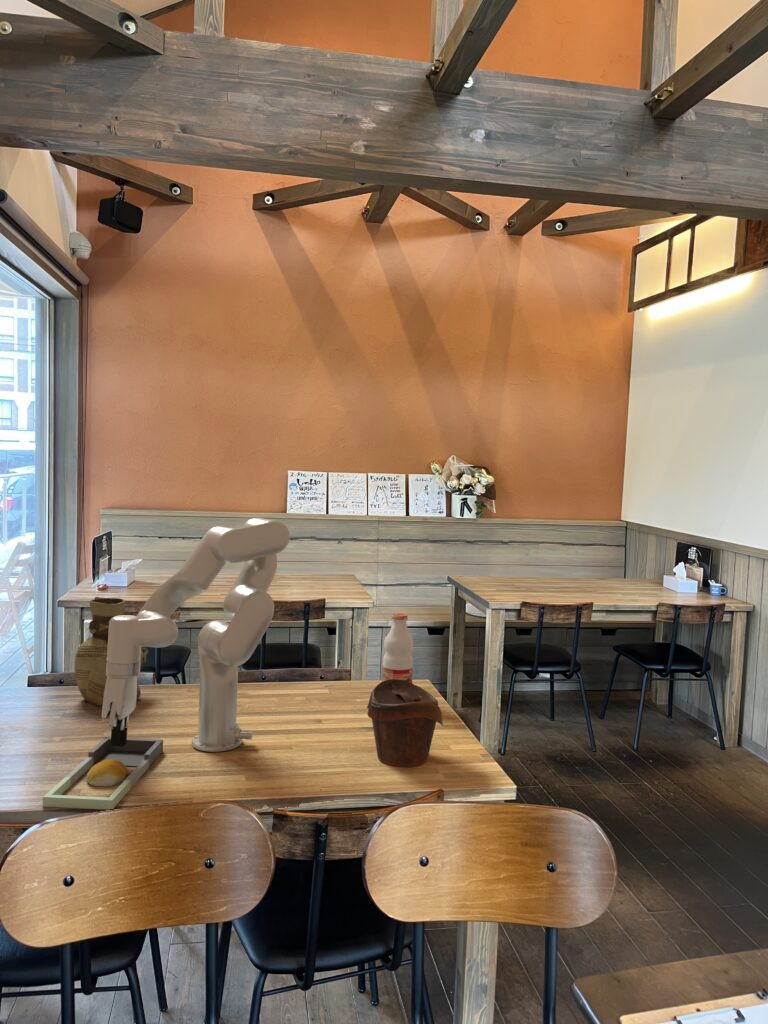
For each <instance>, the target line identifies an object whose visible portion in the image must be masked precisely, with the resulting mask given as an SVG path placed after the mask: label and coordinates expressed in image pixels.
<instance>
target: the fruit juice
mask: <svg viewBox="0 0 768 1024" xmlns="http://www.w3.org/2000/svg"><path fill="white" fill-rule="evenodd" d="M408 617H409V616H408V614H406V613H393V614H392V615H391V622H392V623H391V626H390V630H389V632H388V633H387V634H386V636H385V637H384V641H383V648H384V655H383V657H382V667H381V668H382V671H381V673H382V674H381V676H382V677H381V682H383V681H386V680H390V679H398V680H403V681H407V682H410V683H412V684H413V678H414V677H413V674H414V671H413V670H414V658H413V655H412V653H413V652H412V651H413V649H414V640H413V638H412V636H411V634H410V633H409V629H408V624H407V621H408Z"/></svg>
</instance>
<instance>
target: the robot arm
mask: <svg viewBox="0 0 768 1024" xmlns="http://www.w3.org/2000/svg"><path fill="white" fill-rule="evenodd" d="M290 537H291V534H290V530H289V528H288V527H287V526H286V524H284V523H283V522H281V521H279V520H276V519H269V518H262V517H253V518H250V519H248V520H247V521H246V522H244V524H243V525H242V527H236V528H234V527H228V526H220V525H219V526H214V527H212V528H210V529H209V530H208V531H207V532H206V533H205V534H204V535H203V537H202V538H201V539H200V541H198V543H197V544H196V545H195V547H194V549H193V550H192V551H191V553H190V554H189V556H188V557H187V558H186V559H185V561H184V562H183V564H182V565H181V566H180V567H179V569H178V570H177V571H176V572H175V573H174V574H173V575H172V576H171V577H169V578H168V579H167V580H165V582H164V583H162V584H161V585H160V586H159V587H158V588H157V589H156V590H154V591H153V592H152V594H151V595H150V597H148V599H147V600H146V602H145V603H144V604H143V606H142V607H141V609H140V610H139V611H138V613H137V615H134V614H133V615H131V614H123V615H119V616H115V617H113V618H111V620H110V622H109V632H108V649H107V666H106V676H108V677H107V680H106V685H105V690H104V698H103V707H101V708H102V709H101V719H103V720H106V719H107V718H109V719H108V720H109V721H108V727H110V729H111V733H110V734H111V735H110V737H111V746H122V747H123V746H124V745H125V744H126V743H127V738H128V726H129V720H130V719H129V718H130V715H131V713H132V712H134V710H135V709H136V706H137V700H138V699H137V682H138V677H139V676H140V674H141V673H140V672H141V669H140V657H141V647H144V648H147V647H148V648H166V647H168V646H170V645H172V644H173V643H174V642H175V641H177V640H176V639H177V638H178V636H179V635H178V634H179V628H178V627H179V626H178V625H177V624H176V622H175V621H174V620H173V619H171V617H172V615H173V613H174V612H176V610H177V609H178V608H179V607H180V606H181V605H183V603H184V602H186V601H189V600H190V599H192V598H194V597H197V596H200V595H202V594H204V593H205V592H206V591H207V590H208V589H209V588H210V586H211V585H212V583H213V582H214V581H215V579H216V577H217V576H218V575H219V573H220V572H221V571H222V570H223V568H224V566H225V565H226V564H227V563H229V564H236V563H242V562H244V565H243V566H242V568H241V570H240V572H239V574H238V576H237V577H236V579H235V581H233V584H232V585H231V587H230V589H229V590H228V592H227V594H226V596H225V597H224V599H223V603H222V604H223V605H222V606H223V611H224V613H225V614H226V615H227V616H228V617H229V618H231V620H230V622H227V621H224V620H211V621H210V622H208V623H206V624H204V626H203V627H202V628H201V630H200V632H199V634H198V637H197V652H198V660H199V689H198V690H199V692H198V694H199V695H198V697H199V698H198V729H197V734H196V735H195V736H193V737H192V738H191V746H192V747H193V748H194V749H196V750H199V751H202V752H211V753H217V752H226V751H230V750H233V749H236V748H238V747H239V746H240V745H242V742H243V740H253V737H254V734H253V733H254V732H253V731H251V729H250V728H245V729H242V728H241V727H240V722H237V714H238V712H237V710H238V709H237V707H238V682H239V681H238V680H239V676H238V675H239V673H238V667H239V666H241V665H243V664H245V663H246V662H247V661H248V660H249V659H250V658H251V657H252V655H253V654H254V652H255V650H256V649H257V646H258V645H259V644H260V642H261V640H262V639H263V636H264V635H265V633H266V632H267V629H268V628H269V626H270V624H271V622H272V619H273V617H274V613H275V603H274V600H273V597H272V596H271V594H269V592H268V590H269V589H270V586H271V584H272V583H273V580H274V578H275V576H276V573H277V568H278V555H277V554H279V553H281V552H283V551H284V550H285V549H286V548H287V547H288V545H289V543H290ZM136 699H137V700H136Z"/></svg>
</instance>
